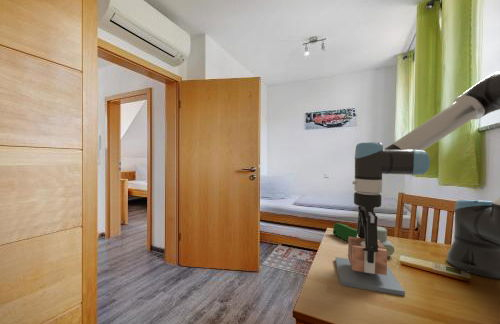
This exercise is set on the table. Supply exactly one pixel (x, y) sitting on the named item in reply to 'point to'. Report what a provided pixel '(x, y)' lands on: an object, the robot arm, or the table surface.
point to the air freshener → (385, 240)
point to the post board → (367, 279)
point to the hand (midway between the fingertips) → (365, 264)
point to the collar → (358, 256)
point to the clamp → (344, 231)
